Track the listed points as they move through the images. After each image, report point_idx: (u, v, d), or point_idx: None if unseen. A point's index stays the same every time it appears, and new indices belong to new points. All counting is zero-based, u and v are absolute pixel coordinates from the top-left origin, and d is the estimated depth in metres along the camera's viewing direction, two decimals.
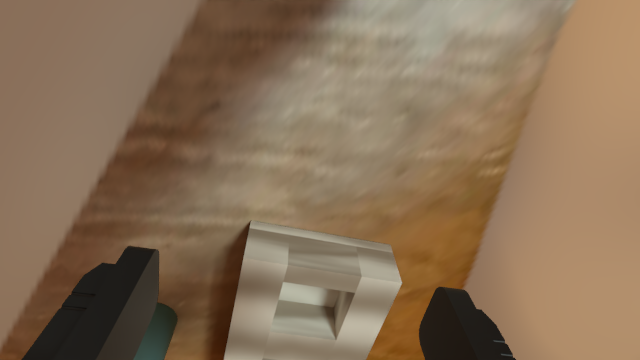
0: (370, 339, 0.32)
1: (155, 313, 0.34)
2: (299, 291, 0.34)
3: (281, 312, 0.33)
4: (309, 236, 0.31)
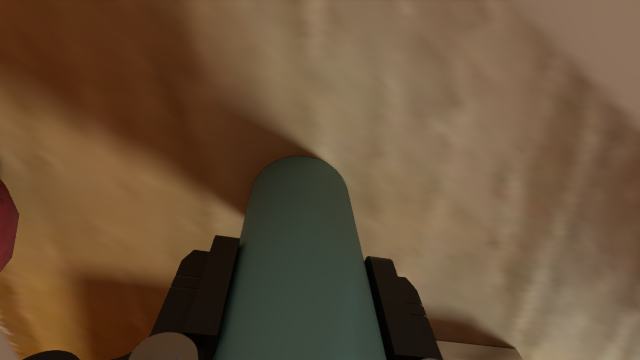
0: None
1: None
2: None
3: None
4: None
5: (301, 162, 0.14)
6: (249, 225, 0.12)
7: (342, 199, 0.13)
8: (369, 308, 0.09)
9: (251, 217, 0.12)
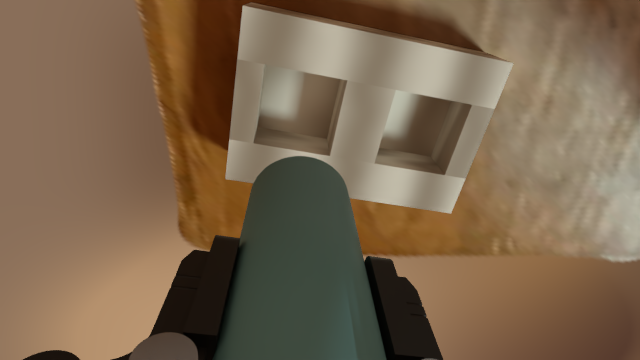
0: (372, 197, 0.30)
1: None
2: (395, 108, 0.30)
3: None
4: None
5: (301, 162, 0.14)
6: (249, 225, 0.12)
7: (342, 199, 0.13)
8: (369, 308, 0.09)
9: (251, 217, 0.12)
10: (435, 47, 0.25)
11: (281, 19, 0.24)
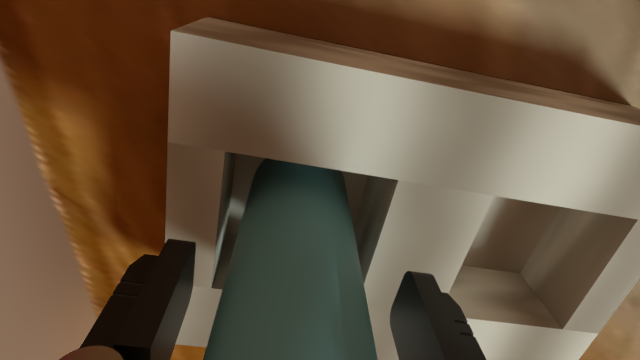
0: None
1: None
2: None
3: None
4: None
5: None
6: (249, 209, 0.13)
7: (337, 187, 0.14)
8: (357, 283, 0.10)
9: (251, 202, 0.13)
10: (587, 116, 0.12)
11: (260, 60, 0.11)
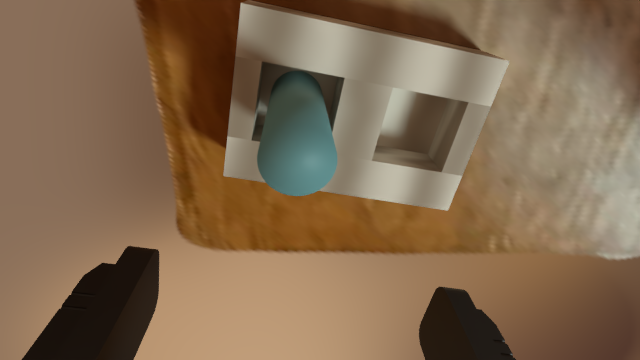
0: (369, 194, 0.30)
1: None
2: (392, 106, 0.30)
3: None
4: None
5: (297, 72, 0.28)
6: (274, 92, 0.26)
7: (317, 86, 0.27)
8: (324, 109, 0.23)
9: (274, 90, 0.26)
10: (432, 45, 0.25)
11: (279, 16, 0.24)
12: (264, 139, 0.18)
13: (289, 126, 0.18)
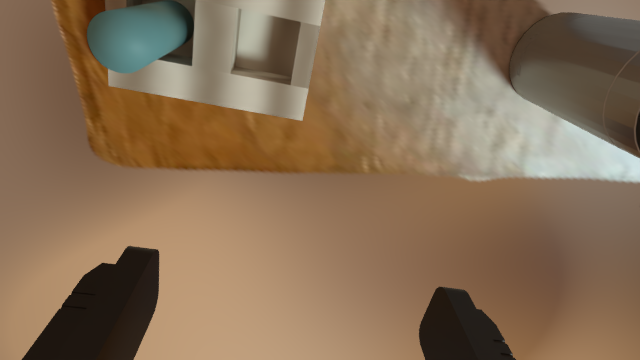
0: (233, 104, 0.36)
1: (190, 32, 0.35)
2: (254, 33, 0.37)
3: (238, 16, 0.35)
4: None
5: (168, 0, 0.35)
6: None
7: (179, 10, 0.34)
8: (165, 18, 0.29)
9: None
10: None
11: None
12: (90, 24, 0.25)
13: (106, 13, 0.25)
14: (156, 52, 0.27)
